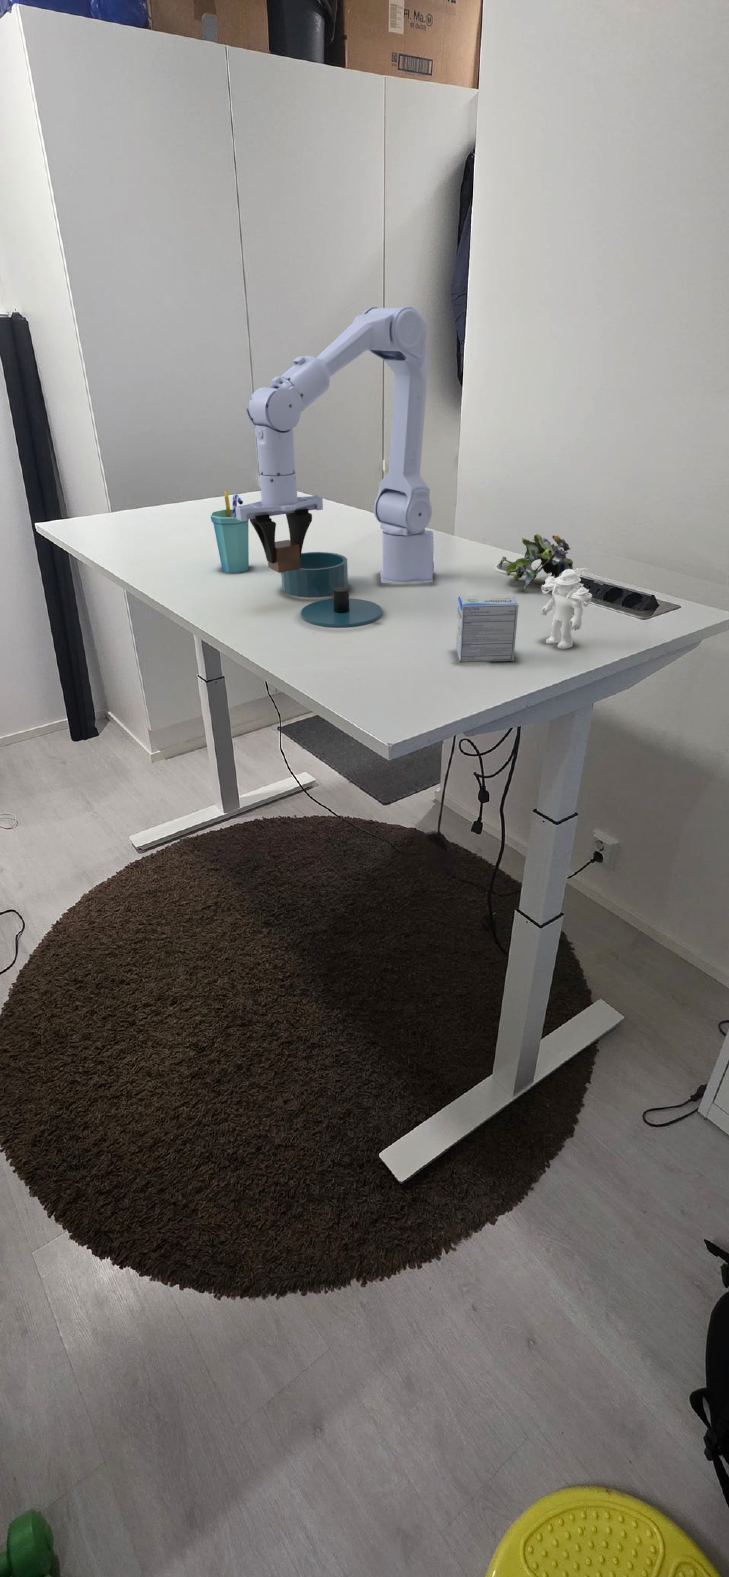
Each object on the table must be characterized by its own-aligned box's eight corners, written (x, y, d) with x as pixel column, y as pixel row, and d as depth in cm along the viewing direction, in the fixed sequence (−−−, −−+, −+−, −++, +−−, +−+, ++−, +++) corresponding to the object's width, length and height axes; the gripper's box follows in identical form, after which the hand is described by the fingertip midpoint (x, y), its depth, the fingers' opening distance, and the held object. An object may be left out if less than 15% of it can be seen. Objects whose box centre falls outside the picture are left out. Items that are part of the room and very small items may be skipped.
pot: (348, 580, 152) (347, 551, 149) (347, 600, 142) (346, 569, 139) (285, 581, 152) (283, 552, 149) (280, 601, 142) (278, 570, 139)
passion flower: (552, 614, 150) (595, 567, 141) (512, 615, 143) (555, 567, 135) (522, 568, 154) (562, 520, 145) (482, 567, 147) (522, 517, 139)
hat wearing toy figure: (590, 650, 119) (601, 569, 113) (570, 655, 118) (580, 573, 112) (549, 632, 126) (557, 554, 120) (529, 637, 125) (537, 558, 118)
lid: (381, 603, 140) (381, 576, 137) (383, 630, 128) (383, 601, 126) (303, 605, 140) (302, 578, 137) (298, 631, 128) (297, 602, 126)
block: (290, 563, 137) (288, 539, 135) (300, 569, 134) (299, 544, 132) (268, 567, 136) (266, 543, 134) (278, 573, 133) (276, 548, 131)
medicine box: (508, 651, 120) (513, 593, 115) (514, 662, 116) (519, 603, 111) (455, 652, 120) (457, 594, 115) (459, 663, 116) (462, 604, 111)
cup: (267, 576, 155) (261, 494, 147) (228, 582, 152) (219, 499, 144) (245, 559, 166) (238, 482, 158) (208, 564, 163) (199, 486, 155)
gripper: (245, 482, 121) (253, 572, 128) (330, 471, 127) (333, 558, 134) (227, 475, 126) (235, 562, 133) (309, 465, 133) (314, 549, 140)
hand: (283, 559), depth 134 cm, fingers closed on block, 4 cm apart
